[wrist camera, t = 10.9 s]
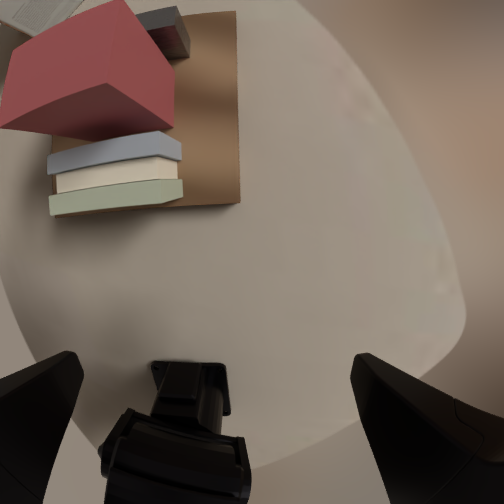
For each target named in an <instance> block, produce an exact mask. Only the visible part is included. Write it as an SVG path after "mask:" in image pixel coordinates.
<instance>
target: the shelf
mask: <svg viewBox="0 0 504 504" xmlns="http://www.w3.org/2000/svg"><path fill="white" fill-rule="evenodd" d="M181 18H182V20H183V22H184V25H185V27H186V30H187V32H188V35H189V37H190V39H191V47H190V58H184V59H177V60H170V61H168V62H169V64H170V65H171V67H172V68H173V70H174V71H175V85H174V128H167V129H159V130H153V131H146V132H140V133H134V134H128V135H123V136H118V137H113V138H108V139H103V140H99V141H95V142H91V141H85V140H80V139H74V138H68V137H62V136H56V135H52V154H54V153H57V152H61V151H64V150H68V149H71V148H75V147H79V146H83V145H87V144H91V143H96V142H100V141H105V140H109V139H114V138H119V137H125V136H130V135H136V134H142V133H148V132H155V131H160V132H162V133H164V134H166V135H168V136H170V137H171V138H173V139H175V140H177V141H179V142H180V143H181V154H182V160H179V161H177V176H178V179H182V183H183V197H181V198H178V199H174V200H171V201H167V202H164V203H158V204H146V205H135V206H124V207H114V208H105V209H97V210H88V211H80V212H73V213H65V214H58V215H55V218H62V217H70V216H78V215H86V214H95V213H104V212H113V211H124V210H134V209H146V208H159V207H173V206H188V205H206V204H227V203H240V201H241V200H240V168H239V133H238V90H237V33H236V11H225V12H212V13H202V14H194V15H187V16H181ZM52 186H53V195H56V194H57V182H56V174H53V175H52ZM66 193H67V192H66ZM59 194H62V193H59Z"/></svg>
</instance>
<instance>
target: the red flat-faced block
mask: <svg viewBox="0 0 504 504" xmlns="http://www.w3.org/2000/svg"><path fill="white" fill-rule="evenodd" d="M174 85H175V71H174V70H173V68H172V67H171V65H170V64H169V62H168V61H167V60H166V58H165V57H164V55H163V54H162V52H161V51H160V49H159V48H158V47H157V45H156V44H155V42H154V41H153V40H152V38H151V37H150V35H149V34H148V33H147V31H146V30H145V28H144V27H143V26H142V24H141V23H140V21H139V20H138V19H137V17H136V16H135V15H134V13H133V12H132V11H131V9H130V8H129V6H128V5H127V4H126V2H125V1H124V0H113V1H110V2H107V3H105V4H102V5H99V6H97V7H94V8H92V9H89V10H87V11H84V12H82V13H80V14H77V15H75V16H73V17H71V18H69V19H67V20H64V21H62V22H60V23H58V24H56V25H55V26H53V27H51V28H49V29H47V30H45V31H43V32H42V33H40V34H38V35H36V36H35V37H33V38H31V39H30V40H28V41H27V42H25V43H23V44H22V45H20V46H19V47H17V48H16V49H14V50H13V52H12V55H11V59H10V62H9V66H8V70H7V75H6V79H5V84H4V89H3V95H2V101H1V107H0V128H2V129H12V130H20V131H28V132H36V133H43V134H50V135H56V136H62V137H68V138H74V139H80V140H85V141H91V142H95V141H99V140H103V139H108V138H113V137H118V136H123V135H128V134H134V133H140V132H146V131H153V130H159V129H167V128H174Z"/></svg>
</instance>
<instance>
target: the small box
mask: <svg viewBox="0 0 504 504" xmlns="http://www.w3.org/2000/svg"><path fill="white" fill-rule="evenodd" d="M83 1H84V0H0V23H2V24H5V25H7V26H9V27H11V28H13V29H15V30H17V31H20V32H22V33H24V34H26V35H28V36H31V37H35V36H36V35H38V34H40V33H42V32H43V31H45V30H47V29H49V28H51V27H53V26H55V25H56V24H58V23H60V22H62V21H64V20H66V19H67V18H68V17H69V16H70V15H71V14H72V13H73V11H74V10H75V9H76V8H77V7H78V6H79V5H80V4H81V3H82V2H83Z"/></svg>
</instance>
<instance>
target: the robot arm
mask: <svg viewBox="0 0 504 504" xmlns="http://www.w3.org/2000/svg"><path fill="white" fill-rule="evenodd" d="M155 366H157V367H159V368H157V367H155ZM219 368H220V369H222V370H218V369H219ZM151 370H152V373H153V377H154V380H155V383H156V386H157V390H158V393H157V396H156V399H155V401H154V404H153V407H152V410H151V413H150V415H149V416H147V415H144V414H141V413H139V412H136V411H135V410H133V409H131V408H128V409H127V410H126V412H125V413H124V414H122V415H121V417H120V418H119V420H118V421H117V423H116V424H115V426H114V428H113V429H112V431H111V432H110V434H109V435H108V437H107V438H106V440H105V442H104V443H102V444H101V445H100V446H99V448H98V455H99V456H100V458H101V475H102V476H103V477H105V478H107V485H106V492H105V500H104V504H247V502H248V500H249V496H250V491H251V469H250V464H249V459H248V454H247V449H246V444H245V439H244V437H238V436H237V437H231V436H225V435H221V427H222V416H229V415H230V414H231V406H230V398H229V389H228V380H227V371H226V366H225V365H224V364H222V363H184V362H164V361H154V362H153V363H152V365H151ZM83 378H84V371H83V369H82V366H81V364H80V361H79V359H78V356H77V354H76V353H75V352H71V351H63V352H61V353H59V354H56V355H54V356H52V357H49V358H47V359H45V360H43V361H40V362H38V363H36V364H34V365H31V366H29V367H27V368H24V369H22V370H20V371H18V372H15V373H13V374H11V375H8V376H6V377H4V378H1V379H0V504H43V499H44V495H45V492H46V488H47V485H48V481H49V478H50V475H51V471H52V468H53V465H54V462H55V459H56V456H57V453H58V450H59V447H60V444H61V442H62V439H63V436H64V433H65V431H66V428H67V426H68V423H69V421H70V418H71V416H72V413H73V410H74V407H75V404H76V400H77V397H78V394H79V391H80V387H81V384H82V381H83ZM350 380H351V385H352V388H353V392H354V396H355V400H356V404H357V408H358V412H359V416H360V420H361V423H362V425H363V428H364V431H365V433H366V436H367V439H368V441H369V444H370V447H371V449H372V452H373V455H374V458H375V460H376V463H377V466H378V468H379V471H380V474H381V477H382V480H383V482H384V486H385V489H386V491H387V494H388V497H389V500H390V503H391V504H504V418H502V417H499V416H496V415H493V414H490V413H488V412H485V411H482V410H480V409H477V408H475V407H473V406H470V405H468V404H466V403H464V402H462V401H460V400H458V399H456V398H455V399H454V398H453V397H452V396H450V395H448V394H446V393H444V392H442V391H440V390H438V389H436V388H434V387H432V386H430V385H428V384H426V383H424V382H422V381H420V380H419V379H417V378H415V377H413V376H411V375H409V374H407V373H405V372H403V371H401V370H400V369H398V368H396V367H394V366H392V365H390V364H388V363H387V362H385V361H383V360H381V359H379V358H377V357H375V356H374V355H372V354H370V353H361V354H357V355H356V356H355V357H354V361H353V366H352V370H351V375H350ZM225 411H227V412H225Z"/></svg>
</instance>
